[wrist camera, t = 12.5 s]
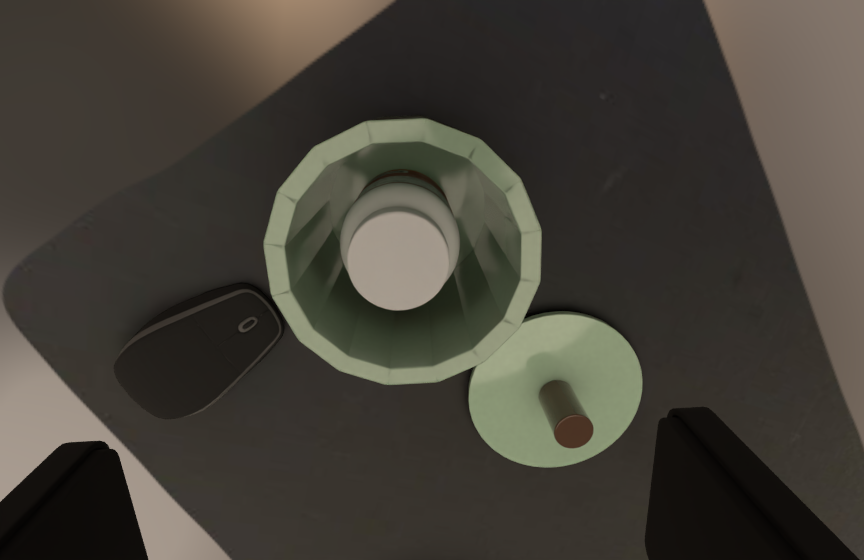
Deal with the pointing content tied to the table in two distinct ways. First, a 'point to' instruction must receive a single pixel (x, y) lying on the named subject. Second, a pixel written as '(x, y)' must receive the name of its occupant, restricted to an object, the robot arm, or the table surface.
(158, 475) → the table surface
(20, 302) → the table surface
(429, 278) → the pill bottle
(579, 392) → the lid
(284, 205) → the pot
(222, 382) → the computer mouse
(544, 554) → the table surface
